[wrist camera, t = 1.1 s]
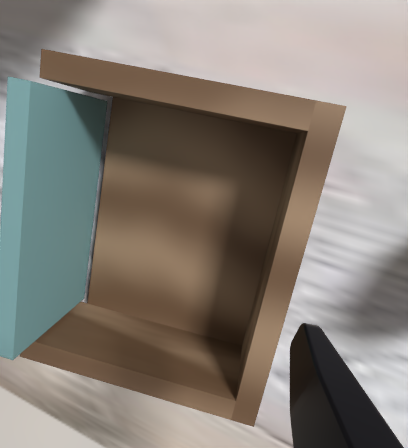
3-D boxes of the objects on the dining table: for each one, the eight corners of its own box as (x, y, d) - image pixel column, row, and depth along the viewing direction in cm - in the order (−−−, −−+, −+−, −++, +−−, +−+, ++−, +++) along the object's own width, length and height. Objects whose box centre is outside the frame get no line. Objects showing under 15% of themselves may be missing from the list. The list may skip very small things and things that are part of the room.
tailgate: (83, 298, 24) (13, 360, 17) (70, 294, 24) (-6, 354, 17) (107, 101, 20) (30, 81, 14) (91, 98, 21) (7, 76, 14)
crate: (256, 357, 24) (253, 426, 18) (75, 307, 25) (20, 356, 19) (322, 116, 20) (346, 106, 14) (102, 74, 21) (41, 48, 15)
